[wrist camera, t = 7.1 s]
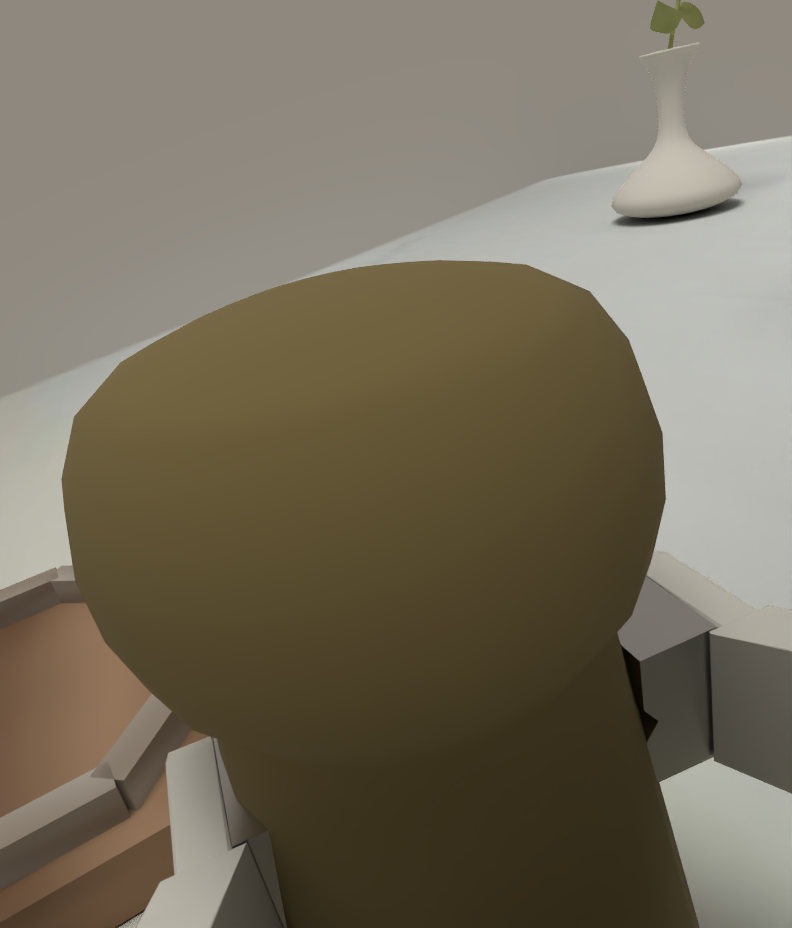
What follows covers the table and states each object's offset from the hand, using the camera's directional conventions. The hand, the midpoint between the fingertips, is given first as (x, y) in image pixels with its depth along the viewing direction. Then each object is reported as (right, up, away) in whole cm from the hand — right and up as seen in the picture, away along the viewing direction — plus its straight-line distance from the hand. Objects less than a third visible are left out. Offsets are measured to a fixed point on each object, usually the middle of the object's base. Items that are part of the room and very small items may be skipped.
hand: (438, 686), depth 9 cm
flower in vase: (+27, +27, +61) cm, 71 cm away
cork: (+1, -6, +2) cm, 6 cm away
